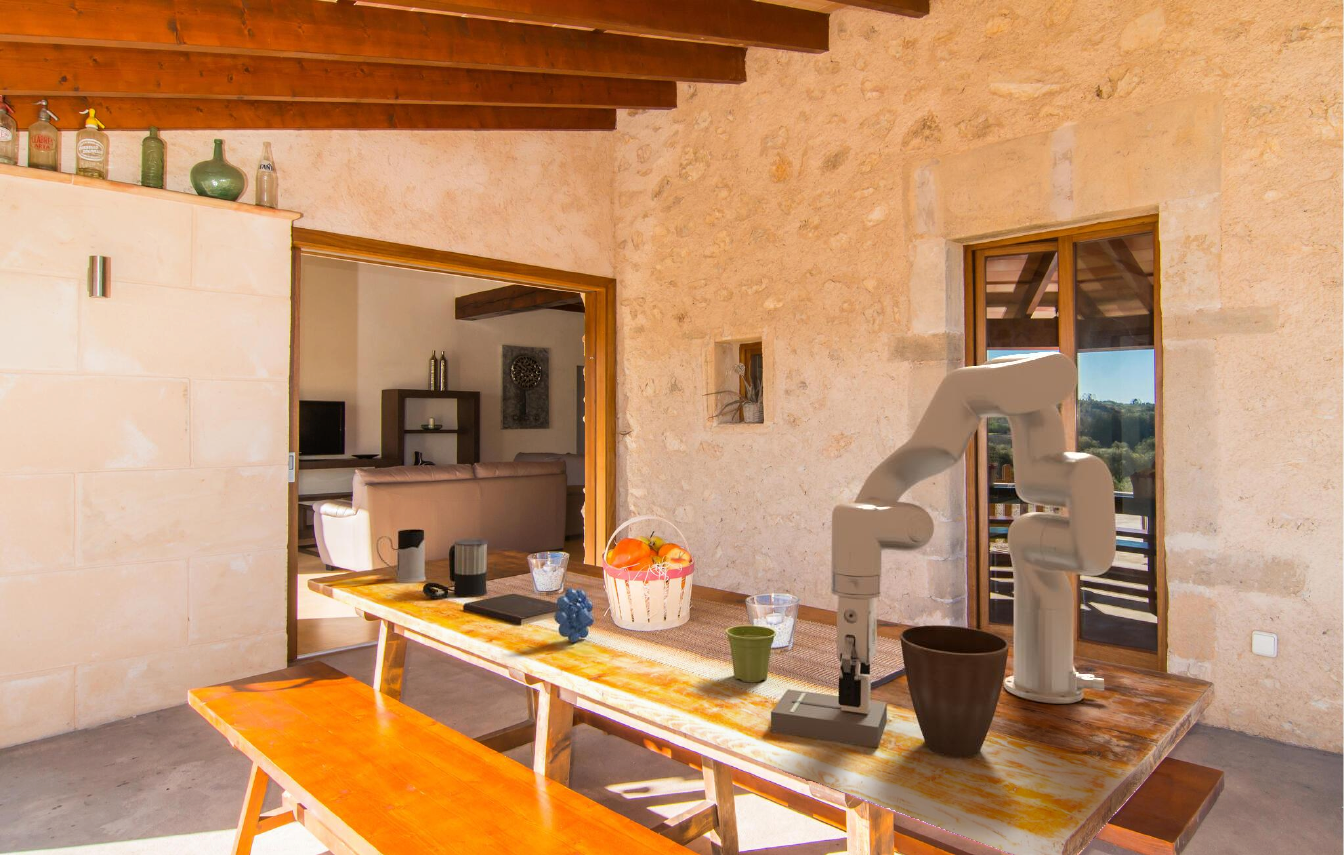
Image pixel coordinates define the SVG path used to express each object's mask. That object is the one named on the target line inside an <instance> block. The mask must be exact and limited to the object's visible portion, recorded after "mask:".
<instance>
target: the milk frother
mask: <svg viewBox="0 0 1344 855" xmlns="http://www.w3.org/2000/svg"><path fill="white" fill-rule="evenodd" d="M488 542H489V541H488V540H486V539H481V538H480V539H478V538H477V539H475V538H469V539H468V538H467V539H458V540H455V541H454V542H453V543H454V544H453V545H452V546H451V547H450V548H449V550H448V565H449V580H450V581H451V582H454V584H453V585H454V587H453V588H454V589H452V588H449V587H447V586H445V585H442V584H439V583H437V582H427V583H425V584H424V585H423V586H422V593H423V594H424V595H425V596H426V597H429V598H430V599H444V598H447V597H448V596H449V592H453V593H452V594H453V596H455V597H459V598H460V597H461V598H462V597H463V598H475V597H476V598H477V597H481V596H484V595H487V594H488V590H487V557H488V556H487V552H488V551H487V548H488ZM439 590H441V591H442V592H443V593H439Z"/></svg>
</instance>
